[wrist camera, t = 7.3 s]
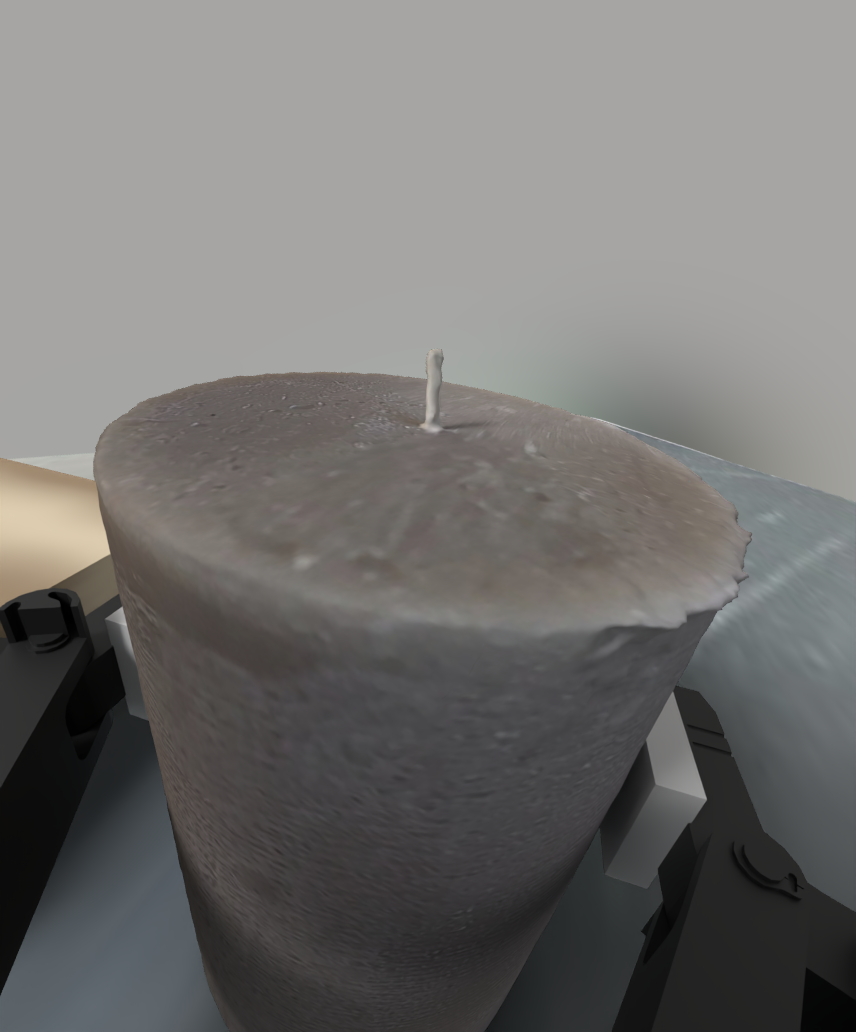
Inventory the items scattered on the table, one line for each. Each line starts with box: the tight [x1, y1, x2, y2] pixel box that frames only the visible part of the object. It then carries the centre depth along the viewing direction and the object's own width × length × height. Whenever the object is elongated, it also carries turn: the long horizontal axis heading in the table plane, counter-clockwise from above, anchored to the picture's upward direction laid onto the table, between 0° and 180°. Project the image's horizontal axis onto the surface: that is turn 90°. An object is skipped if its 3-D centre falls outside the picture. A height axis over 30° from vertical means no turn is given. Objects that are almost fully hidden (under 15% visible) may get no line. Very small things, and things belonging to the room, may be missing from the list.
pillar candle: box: [93, 349, 752, 1032], centre depth 10 cm, size 10×10×15 cm
